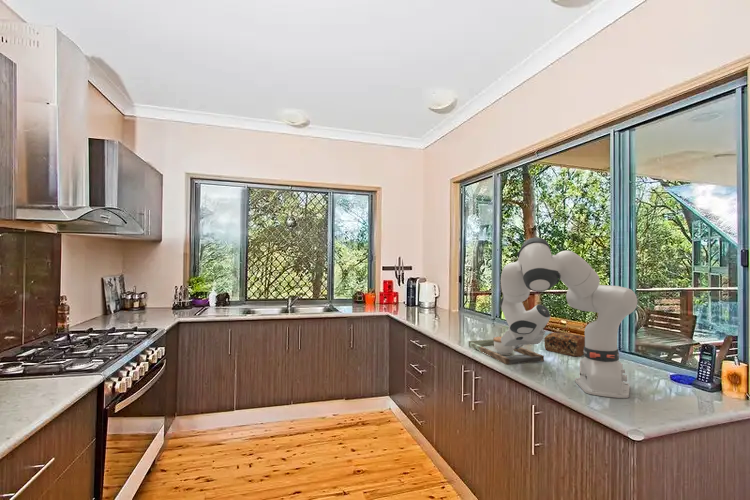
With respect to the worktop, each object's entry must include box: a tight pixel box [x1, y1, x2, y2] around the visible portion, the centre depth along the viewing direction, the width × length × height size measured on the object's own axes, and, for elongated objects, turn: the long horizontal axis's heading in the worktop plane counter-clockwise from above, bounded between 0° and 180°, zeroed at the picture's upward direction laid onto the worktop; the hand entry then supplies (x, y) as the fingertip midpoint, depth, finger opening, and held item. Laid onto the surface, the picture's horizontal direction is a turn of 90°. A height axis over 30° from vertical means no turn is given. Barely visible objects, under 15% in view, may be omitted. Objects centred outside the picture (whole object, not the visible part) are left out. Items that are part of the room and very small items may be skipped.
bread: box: [543, 332, 585, 357], centre depth 204 cm, size 19×11×10 cm, turn 29°
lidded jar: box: [493, 336, 514, 356], centre depth 203 cm, size 11×11×9 cm
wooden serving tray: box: [468, 339, 545, 365], centre depth 204 cm, size 38×20×3 cm, turn 14°
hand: (515, 347), depth 191 cm, fingers closed
